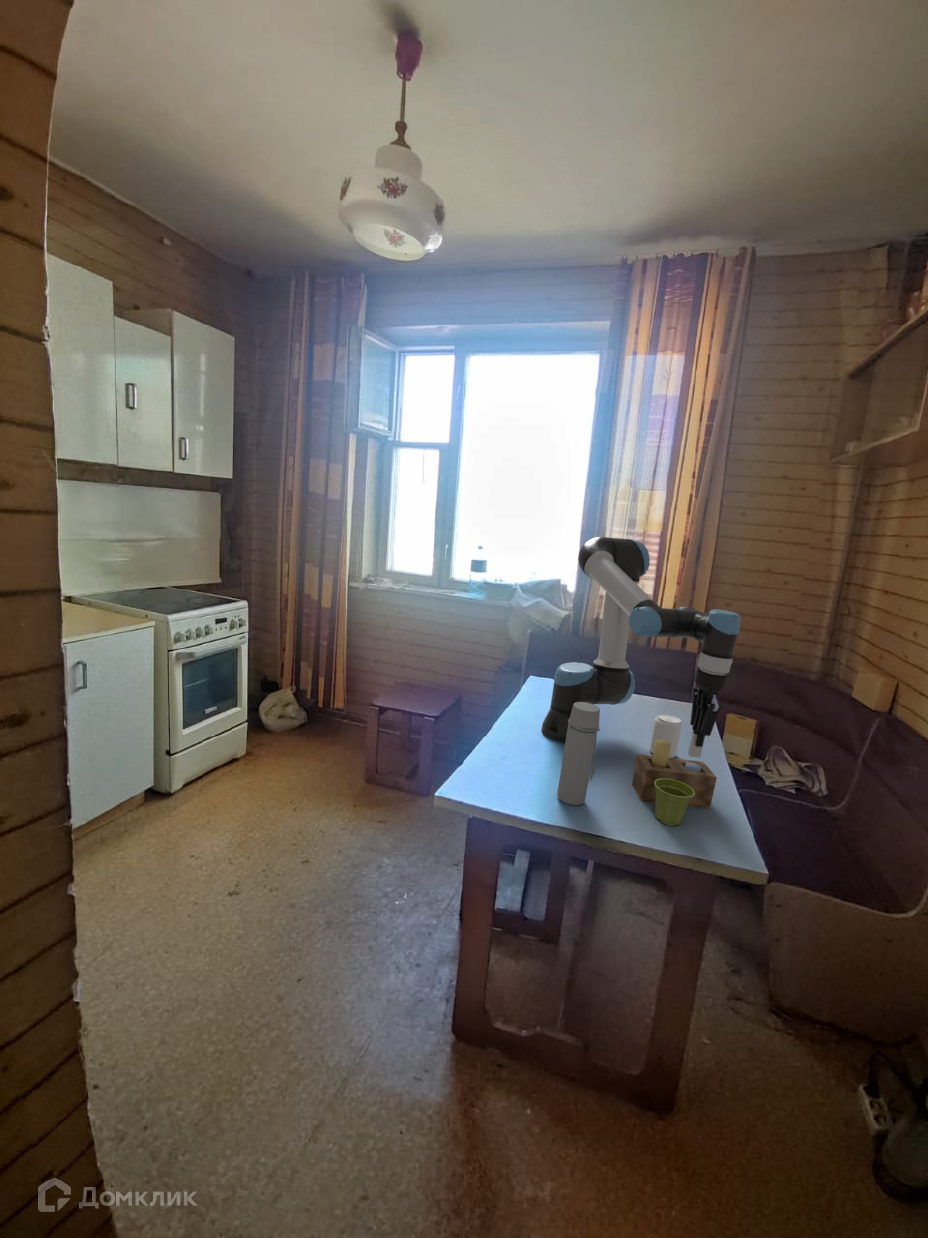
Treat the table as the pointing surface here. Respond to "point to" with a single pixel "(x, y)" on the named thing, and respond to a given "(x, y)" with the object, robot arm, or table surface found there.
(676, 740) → the beverage can
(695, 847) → the table surface
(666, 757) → the ochre peg
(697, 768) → the blue peg
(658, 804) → the plant pot
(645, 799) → the walnut block
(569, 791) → the water bottle
